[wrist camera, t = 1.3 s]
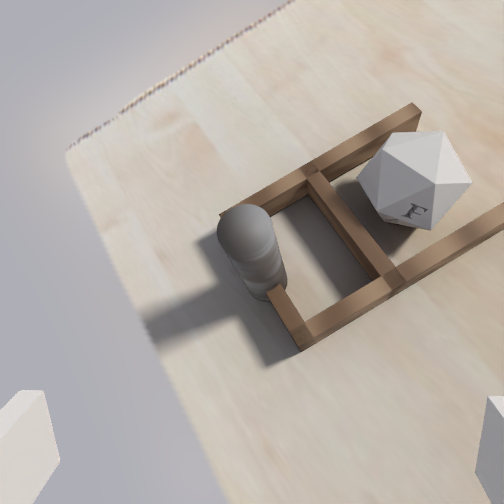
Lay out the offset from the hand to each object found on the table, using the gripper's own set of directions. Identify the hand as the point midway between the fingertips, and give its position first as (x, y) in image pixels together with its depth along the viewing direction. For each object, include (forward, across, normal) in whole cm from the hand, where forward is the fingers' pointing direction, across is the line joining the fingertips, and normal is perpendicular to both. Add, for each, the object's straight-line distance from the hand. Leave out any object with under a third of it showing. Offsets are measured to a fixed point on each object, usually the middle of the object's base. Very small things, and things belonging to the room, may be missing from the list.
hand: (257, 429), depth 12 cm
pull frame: (+30, +8, -2) cm, 31 cm away
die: (+32, +13, 0) cm, 34 cm away
